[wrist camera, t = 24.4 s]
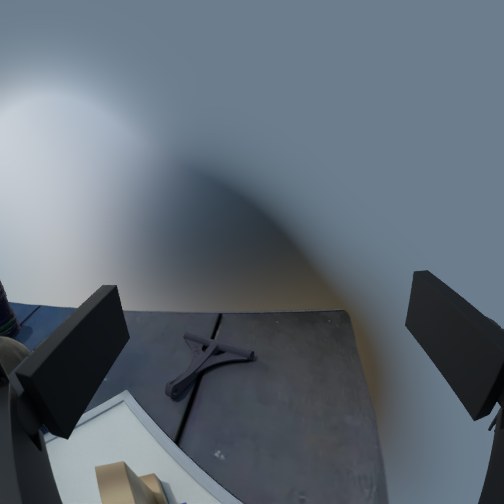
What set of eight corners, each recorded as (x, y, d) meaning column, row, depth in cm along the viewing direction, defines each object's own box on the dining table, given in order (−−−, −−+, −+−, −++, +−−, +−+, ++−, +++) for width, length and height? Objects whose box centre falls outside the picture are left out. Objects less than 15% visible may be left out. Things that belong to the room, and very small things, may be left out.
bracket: (139, 383, 45) (134, 372, 44) (189, 336, 57) (186, 325, 56) (208, 417, 38) (204, 406, 37) (254, 356, 50) (253, 344, 49)
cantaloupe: (73, 409, 38) (31, 340, 32) (20, 454, 27) (-36, 389, 21) (40, 376, 44) (6, 314, 39) (-6, 411, 33) (-48, 350, 27)
